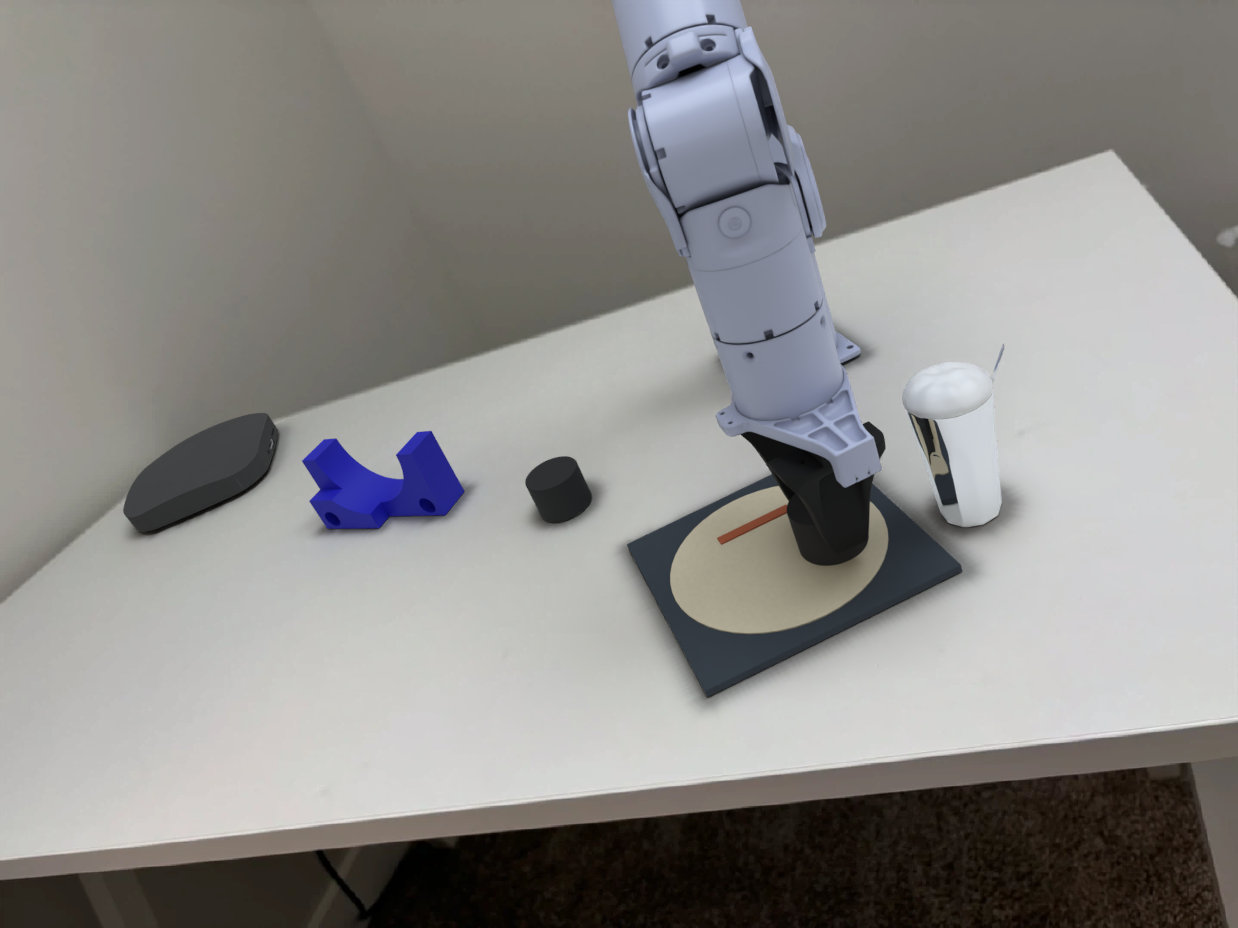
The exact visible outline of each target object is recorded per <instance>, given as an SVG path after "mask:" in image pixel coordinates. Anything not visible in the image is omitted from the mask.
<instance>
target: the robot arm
mask: <svg viewBox="0 0 1238 928" xmlns="http://www.w3.org/2000/svg"><path fill="white" fill-rule="evenodd" d="M610 1H611V5H612V9H613V14H614V17H615V22H616V26H617V29H618V34H619V38H620V41H621V46H622V49H623V54H624V58H625V61H626V65H627V70H628V74H629V79H630V82H631V86H632V90H633V94H634V98H635V101H636V102H635V103H636V107H635V109H634V108H632V107H630V108H628V109H627V119H628V129H629V134H630V138H631V142H632V146H633V149H634V155H635V157H636V161H637V164H638V167H639V170H640V172H641V176H642V179H643V181H644V183H645V186H646V188H647V191H648V193H649V195H650V197H651V199H652V201H653V203H654V204H655V206H656V207H657V210H658V211H659V213H660V214H661V217H662V218H663V220H664V222H665V225H666V227H667V229H668V232H669V234H670V238H671V240H672V243H673V246H674V248H675V251H676V252H677V255H678V257H679V258H682V257H684V258H685V259H686V260H685V262H686V266H687V268H688V270H689V275H690V277H691V279H692V283H693V286H694V288H695V292H696V294H697V297H698V299H699V300H698V301H699V303H700V306H701V309H702V312H703V315H704V317H705V321H706V323H707V326H708V329H709V332H710V335H711V338H712V341H713V344H714V346H715V350H716V353H717V355H718V358H719V361H720V364H721V368H722V370H723V374H724V376H725V379H726V382H727V384H728V387H729V391H730V394H731V395H730V397H731V403H730V404H729V405H728V406H726V407H725V408H722V409H721V410H719V411H717V412H716V414H715V419H716V422H717V425H718V427H719V428H720V429H721V431H722V432H723V433H724V434H725V435H726V436H728V437H731V438H733V437H734V438H735V437H738V436H741V437H743V438H744V439H745V440H746V441H747V442H748V443H750V445H751V446H752V447H753V449H755V451H756V452H757V453H758V455H759V456H760V458H761V459H762V461H763V462H764V464H765V465H766V467H767V469H768V470H769V472H770V473H771V474H772V475H773V477H774V478H775V480H776V482H777V484H778V485H779V487H780V489H781V490H782V492H783V494H784V495H785V497H786V498H787V500H788V501H789V500H790V499H791V497H792V496H793V495H794V494H795V493H796V494H797V495H798V496H799V498H800V499H801V501H802V502H803V504H804V505H805V507H806V509H807V510H808V512H809V514H810V516H811V518H812V520H813V522H814V524H815V526H816V528H817V530H818V532H819V534H820V535H821V537H822V539H823V540H824V542H825V543H826V544H827V546H828V547H829V548H830V549H831V550H832V551H833V553H834V554H835V555H839V554H841V553H843V552H845V551H847V550H849V549H851V548H853V547H855V546H857V545H859V544H861V543H863V542H865V541H867V540H868V535H869V515H870V495H871V487H872V484H873V481H874V478H875V474H878V473H879V472H881V471H882V470H883V467H882V464H881V459H882V457H883V455H884V453H885V451H886V448H887V447H886V438H885V435H884V432H883V431H882V430H880V429H879V428H878V427H877V426H875V425H874V424H873V423H872V422H870V421H866V422H863V423H862V419H861V417H860V414H859V410H858V406H857V402H856V399H855V396H854V392H853V389H852V385H851V381H850V378H849V375H848V372H847V370H846V368H845V367H844V366H843V363H845V362H847V361H849V360H852V359H853V358H856V357H858V356H859V355H860V354H861V353H862V350H861V347H860V346H858V345H857V344H856V343H854V342H852V340H849V339H848V338H847V337H845V336H844V335H842V334H841V333H839V332H838V331H836V327H835V324H834V321H833V317H832V314H831V309H830V306H829V302H828V299H827V295H826V291H825V287H824V283H823V280H822V276H821V273H820V268H819V265H818V261H817V258H816V253H815V252H816V247H815V246H816V245H815V243H814V239H817V238H821V237H822V236H823V232H824V231H825V229H826V227H827V220H826V217H825V212H824V208H823V204H822V199H821V196H820V192H819V188H818V184H817V181H816V177H815V174H814V170H813V168H812V164H811V162H810V159H809V156H808V155H807V152H806V148H805V145H804V141H803V140H802V137H801V135H800V133H797V132H796V129H795V128H794V127H793V126H792V125H789V124H787V119H786V116H785V112H784V109H783V104H782V101H781V97H780V94H779V91H778V87H777V84H776V81H775V78H774V74H773V72H772V69H771V67H770V65H769V63H768V62H767V60H766V58H765V56H764V54H763V52H762V50H761V49H760V46H759V44H758V41H757V39H756V37H755V33H754V30H753V28H752V26H751V25H750V26H748V23H747V19H746V16H745V12H744V9H743V5H742V3H741V0H610ZM813 238H814V239H813Z"/></svg>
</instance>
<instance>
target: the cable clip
mask: <svg viewBox="0 0 1238 928" xmlns="http://www.w3.org/2000/svg"><path fill="white" fill-rule="evenodd" d="M395 457H396V459H397V460H398V462H399V465H400V468H401V471H402V478H392V477H387V476H384V475H381V474H379V473H376V472H374V471H372V470H371V469H369V468H367V467H365V466H364V465H362V464H361V463H360V462H359V461H358V460H356V459H355V458H354V457H353V456H352V455H350V454H349V453H348V451H347V450H346V449H345V448H344V446H343V445H342V444H341V442H340V441H339V440H338V438H335V437H334V438H324V439H323V440H322V441H320V443H318V444H317V445H316V446H315V448H313V449H312V450H311V451H310V452H309V453H308V454H307V455H306V456H305V457H304V458H303V459H302V460H301V462H302V464H303V466H304V467H305V468H306V470H307V471H308V474H309V475H310V476H311V478H312V479H313V481H314V482H315V484H316V485H317V488H319V490H318V491H317V492H316V493H315V494H314V495H313V496H312V497H311V498H310V499H309V501H308V502H309V504H310V505H311V506H312V508H313V509H314V511H315V512H316V514H317V516H318V517H319V519H320V520H321V521H322V523H323V524H324V526H325V528H326V529H327V530H336V529H337V530H340V529H341V530H344V529H347V530H348V529H353V530H354V529H357V530H358V529H359V530H360V529H380V528H381V527H382V526H383V525H384V523H385V522H386V521H387V520H388V519H389V518H390V517H425V516H430V517H431V516H432V517H433V516H446V515H447V514H448V513H449V512H450V510H451V509H452V507H453V506H454V505H455V504H456V503H457V502H458V501H459V499H460V498H461V496H462V495H463V494H464V493H465V489H464V487H463V486H462V483H461V482H460V481H459V478H458V476H457V475H456V473H455V471H454V469H453V467H452V465H451V464H450V462H449V460H448V458H447V457H446V455H445V453H444V451H443V449H442V447H441V446H440V444H439V442H438V440H437V439H436V436H435V435H434V433H433V431H432V430H423V431H416V432H415V433H414V434H413V435H412V436H411V437H410V439H409V440H408V441H407V442H406V443H405V444H404V445H403V446H402V448H401V449H399V451H398V452H397V453H396V454H395Z"/></svg>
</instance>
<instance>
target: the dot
mask: <svg viewBox="0 0 1238 928" xmlns="http://www.w3.org/2000/svg"><path fill="white" fill-rule="evenodd" d="M786 511H787V515H788V518H789V521H790V524H791V527H792V530H793V533H794V536H795V539H796V542H797V545H798V548H799V551H800V554H801V555H802V557H803V558H804V559H805V560H807V561H808V562H810V563H813V564H816V565H822V566H830V565H837V564H841V563H844V562H847V561H849V560H851V559H853V558H855V557H856V556H857V555H859V554H860V553H861V552H862V551H863V550H864V548H865V547H866V545H867V543H868V540H867V541H865V542H863V543H861V544H859V545H857V546H855V547H853V548H851V549H849V550H847V551H845V552H843V553H841V554H839V555H835V554H834V553H833V551H832V550H831V549H830V548H829V547H828V546H827V544H826V543H825V542H824V540H823V539H822V537H821V535H820V534H819V532H818V530H817V528H816V526H815V524H814V522H813V520H812V518H811V516H810V514H809V512H808V510H807V509H806V507H805V505H804V504H803V502H802V501H801V499H800V498H799V496H798V495H797V494H796V493H795V494H794V495H793V496H792V497H791V499H790V500H789V502H788V504H787V510H786ZM868 539H869V535H868Z"/></svg>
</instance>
